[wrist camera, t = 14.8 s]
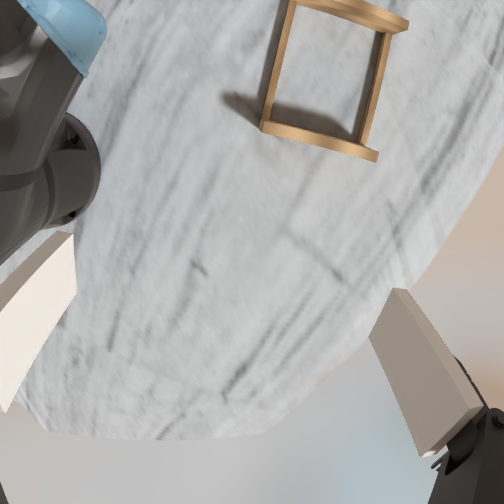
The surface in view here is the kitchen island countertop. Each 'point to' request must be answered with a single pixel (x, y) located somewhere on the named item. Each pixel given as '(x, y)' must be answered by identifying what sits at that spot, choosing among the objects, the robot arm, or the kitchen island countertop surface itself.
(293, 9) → the caddy
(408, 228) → the kitchen island countertop surface
